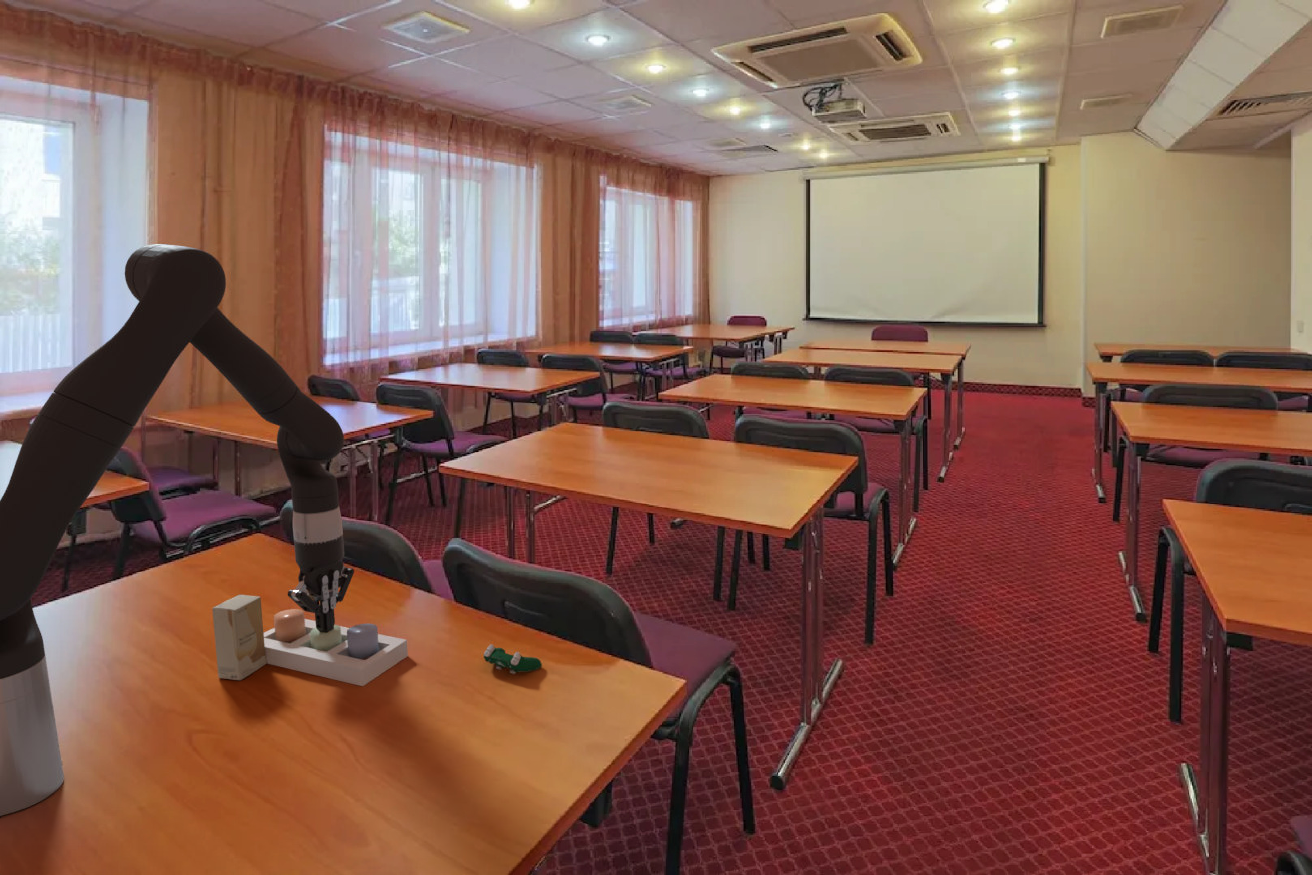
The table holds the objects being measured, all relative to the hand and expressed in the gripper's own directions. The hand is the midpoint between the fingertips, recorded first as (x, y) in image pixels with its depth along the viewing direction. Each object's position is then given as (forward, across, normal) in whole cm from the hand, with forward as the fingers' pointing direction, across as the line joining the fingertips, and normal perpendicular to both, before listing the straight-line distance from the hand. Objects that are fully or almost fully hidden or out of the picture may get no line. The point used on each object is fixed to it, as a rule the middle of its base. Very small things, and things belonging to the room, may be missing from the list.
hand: (326, 630), depth 128 cm
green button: (+4, 0, 0) cm, 4 cm away
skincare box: (+5, -9, +9) cm, 14 cm away
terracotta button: (+2, 0, +8) cm, 8 cm away
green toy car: (+5, +8, -31) cm, 33 cm away
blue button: (+3, 0, -8) cm, 8 cm away
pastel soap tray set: (+5, 0, 0) cm, 5 cm away
